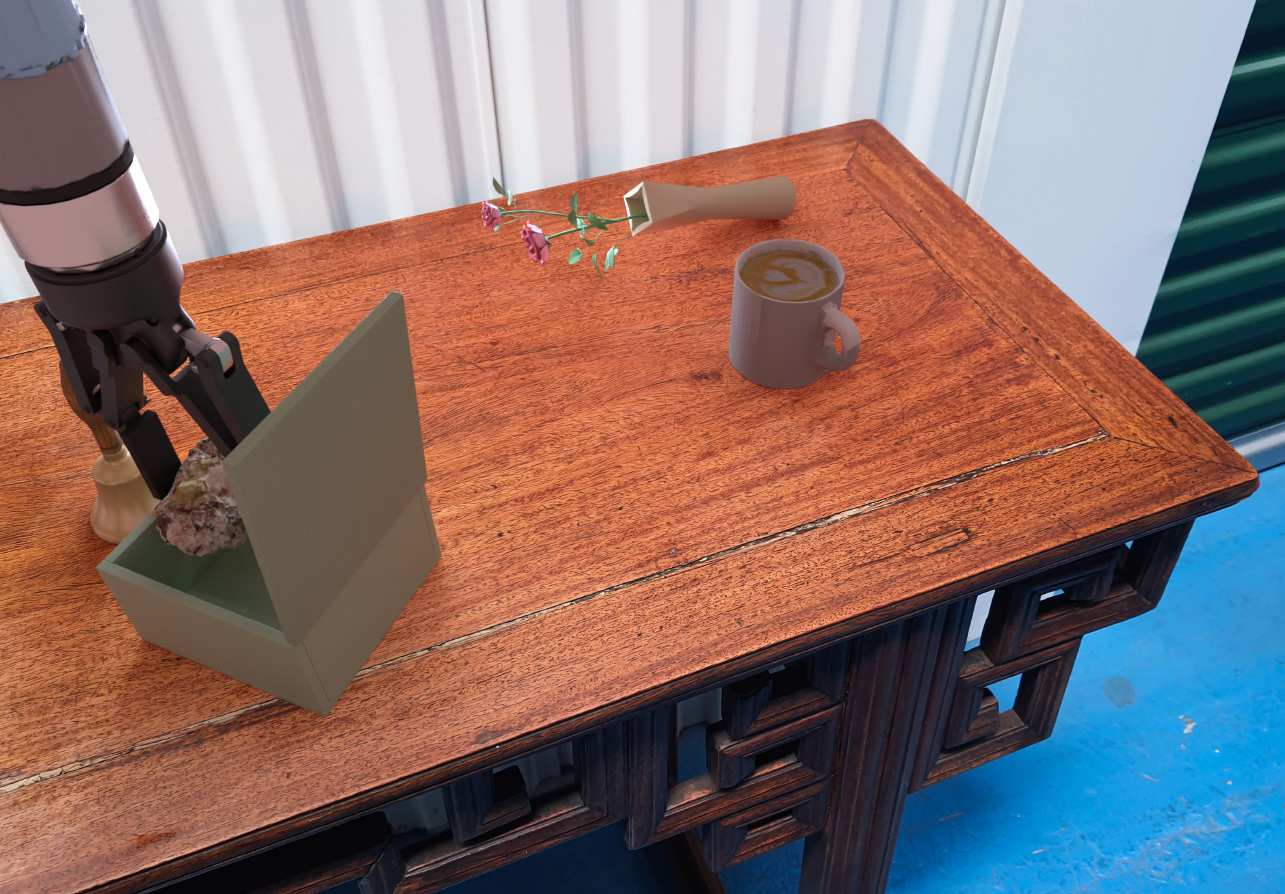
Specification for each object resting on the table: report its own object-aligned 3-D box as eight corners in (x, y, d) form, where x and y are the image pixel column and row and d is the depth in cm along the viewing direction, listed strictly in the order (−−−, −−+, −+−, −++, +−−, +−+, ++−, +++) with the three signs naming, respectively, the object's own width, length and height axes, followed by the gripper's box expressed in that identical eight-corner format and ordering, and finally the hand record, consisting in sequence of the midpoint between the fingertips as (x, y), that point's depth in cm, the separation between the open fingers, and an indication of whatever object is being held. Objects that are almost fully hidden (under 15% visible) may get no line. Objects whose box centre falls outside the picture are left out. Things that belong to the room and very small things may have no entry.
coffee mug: (708, 342, 98) (713, 258, 91) (790, 311, 101) (801, 227, 94) (789, 424, 90) (801, 339, 83) (875, 387, 93) (894, 301, 86)
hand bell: (144, 459, 87) (68, 315, 76) (216, 489, 85) (149, 345, 73) (69, 524, 82) (-26, 380, 71) (143, 559, 79) (58, 415, 68)
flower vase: (774, 289, 116) (497, 326, 99) (728, 212, 121) (457, 235, 104) (821, 217, 107) (524, 245, 90) (769, 137, 112) (479, 149, 95)
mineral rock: (271, 529, 67) (139, 528, 64) (270, 571, 70) (143, 572, 67) (277, 424, 75) (159, 420, 72) (275, 467, 77) (162, 463, 75)
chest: (141, 639, 74) (94, 567, 68) (273, 495, 84) (243, 421, 78) (325, 718, 70) (293, 648, 63) (442, 556, 80) (424, 482, 73)
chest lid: (220, 461, 50) (233, 467, 50) (392, 289, 60) (403, 293, 60) (286, 642, 63) (296, 647, 63) (418, 476, 73) (428, 479, 73)
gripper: (289, 242, 55) (372, 511, 71) (7, 167, 61) (143, 430, 77) (196, 321, 50) (308, 590, 66) (-101, 231, 56) (69, 497, 72)
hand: (219, 504), depth 72 cm, fingers closed on mineral rock, 8 cm apart
